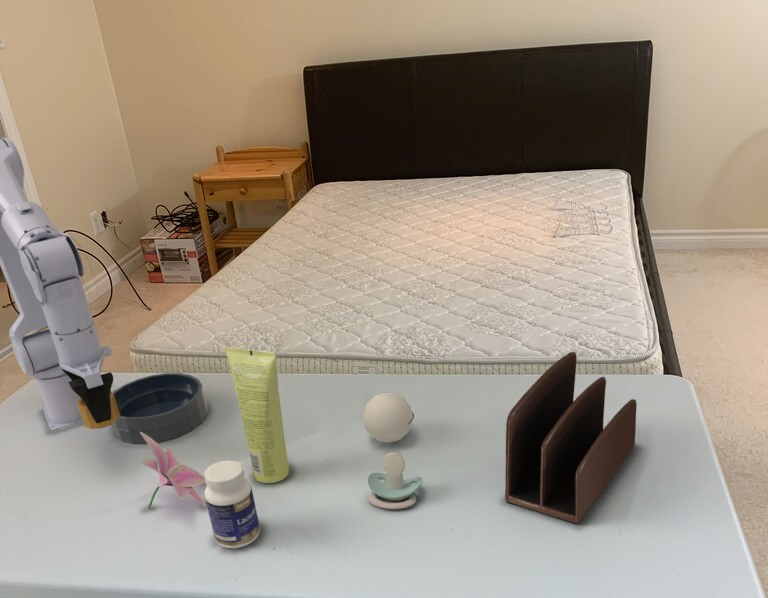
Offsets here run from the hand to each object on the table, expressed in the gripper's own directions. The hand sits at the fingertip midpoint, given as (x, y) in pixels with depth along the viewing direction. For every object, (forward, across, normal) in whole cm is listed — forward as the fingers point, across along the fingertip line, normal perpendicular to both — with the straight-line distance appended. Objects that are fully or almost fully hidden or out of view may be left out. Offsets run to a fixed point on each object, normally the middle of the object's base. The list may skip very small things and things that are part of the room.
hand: (99, 413), depth 110 cm
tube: (+9, -18, -18) cm, 27 cm away
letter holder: (+9, -43, -51) cm, 67 cm away
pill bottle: (+9, -28, -9) cm, 31 cm away
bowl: (+8, +8, -9) cm, 15 cm away
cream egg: (+9, -20, -37) cm, 43 cm away
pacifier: (+9, -34, -29) cm, 45 cm away
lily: (+9, -16, -5) cm, 19 cm away
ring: (+1, 0, 0) cm, 1 cm away
